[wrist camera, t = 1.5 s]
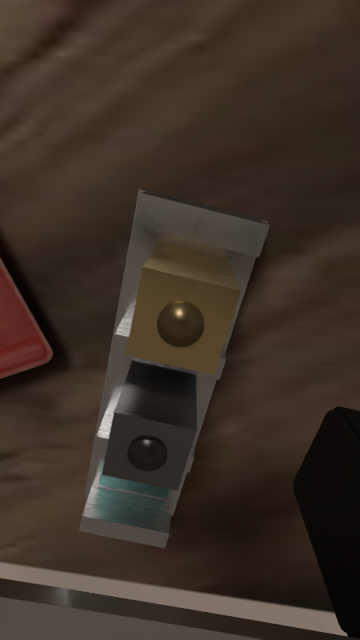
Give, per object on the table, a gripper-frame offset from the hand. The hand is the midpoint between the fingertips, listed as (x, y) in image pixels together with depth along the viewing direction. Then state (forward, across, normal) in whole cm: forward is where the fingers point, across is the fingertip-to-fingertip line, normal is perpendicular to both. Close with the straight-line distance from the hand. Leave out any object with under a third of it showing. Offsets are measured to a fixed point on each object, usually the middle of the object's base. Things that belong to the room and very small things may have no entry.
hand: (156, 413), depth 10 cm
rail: (+16, -1, +8) cm, 18 cm away
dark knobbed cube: (+14, -1, +8) cm, 16 cm away
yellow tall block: (+14, -1, 0) cm, 14 cm away
